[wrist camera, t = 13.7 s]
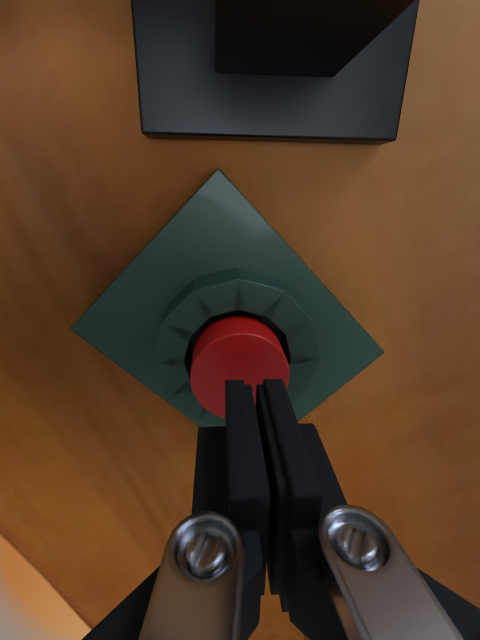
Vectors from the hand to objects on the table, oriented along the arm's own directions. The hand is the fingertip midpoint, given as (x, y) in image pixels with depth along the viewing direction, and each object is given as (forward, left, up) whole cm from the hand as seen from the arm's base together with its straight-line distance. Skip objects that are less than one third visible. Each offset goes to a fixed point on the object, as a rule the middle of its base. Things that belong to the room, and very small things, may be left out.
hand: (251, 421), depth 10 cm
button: (0, 0, -4) cm, 4 cm away
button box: (0, 0, -8) cm, 8 cm away
